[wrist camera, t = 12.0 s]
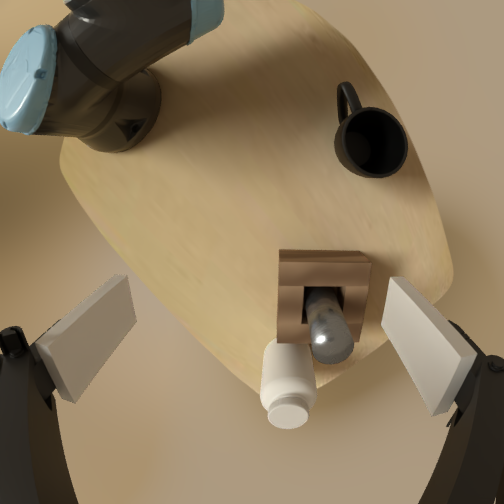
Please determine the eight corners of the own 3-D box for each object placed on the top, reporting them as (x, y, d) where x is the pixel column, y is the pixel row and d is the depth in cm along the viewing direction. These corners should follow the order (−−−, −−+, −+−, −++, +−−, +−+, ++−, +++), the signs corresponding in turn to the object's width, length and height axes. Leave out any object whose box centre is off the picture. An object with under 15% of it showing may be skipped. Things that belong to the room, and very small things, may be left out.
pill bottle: (254, 353, 46) (245, 418, 31) (287, 324, 44) (290, 387, 29) (287, 377, 46) (288, 441, 32) (320, 350, 44) (333, 414, 30)
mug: (356, 92, 33) (378, 71, 24) (387, 167, 36) (417, 166, 27) (306, 107, 35) (315, 87, 26) (338, 185, 37) (357, 188, 28)
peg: (304, 278, 40) (314, 330, 26) (334, 278, 39) (357, 329, 26) (302, 305, 41) (310, 364, 27) (331, 305, 40) (350, 363, 27)
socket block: (279, 249, 40) (279, 261, 35) (359, 250, 39) (371, 263, 34) (276, 322, 44) (276, 343, 38) (350, 322, 43) (358, 342, 37)
